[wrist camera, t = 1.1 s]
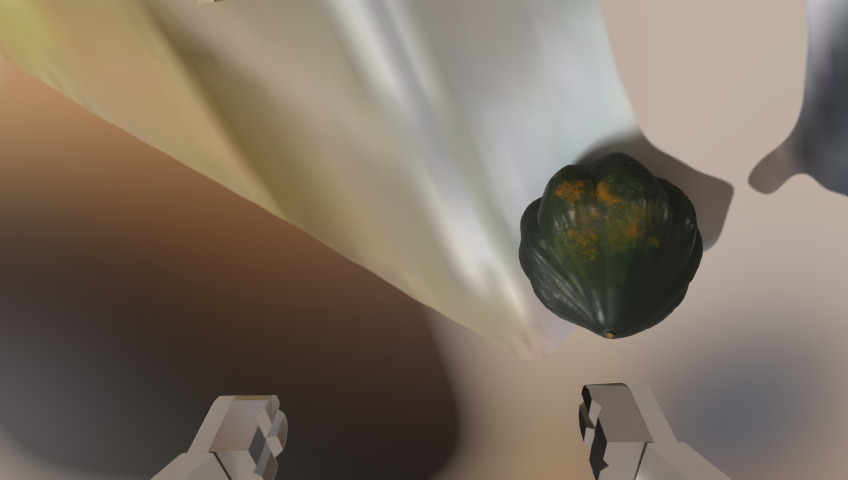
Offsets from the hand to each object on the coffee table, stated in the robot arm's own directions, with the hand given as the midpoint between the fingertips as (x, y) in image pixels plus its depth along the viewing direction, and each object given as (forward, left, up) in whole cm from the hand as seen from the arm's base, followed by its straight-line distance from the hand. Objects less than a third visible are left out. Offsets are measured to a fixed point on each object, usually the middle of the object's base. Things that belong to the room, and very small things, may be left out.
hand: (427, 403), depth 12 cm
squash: (-13, +13, -30) cm, 35 cm away
